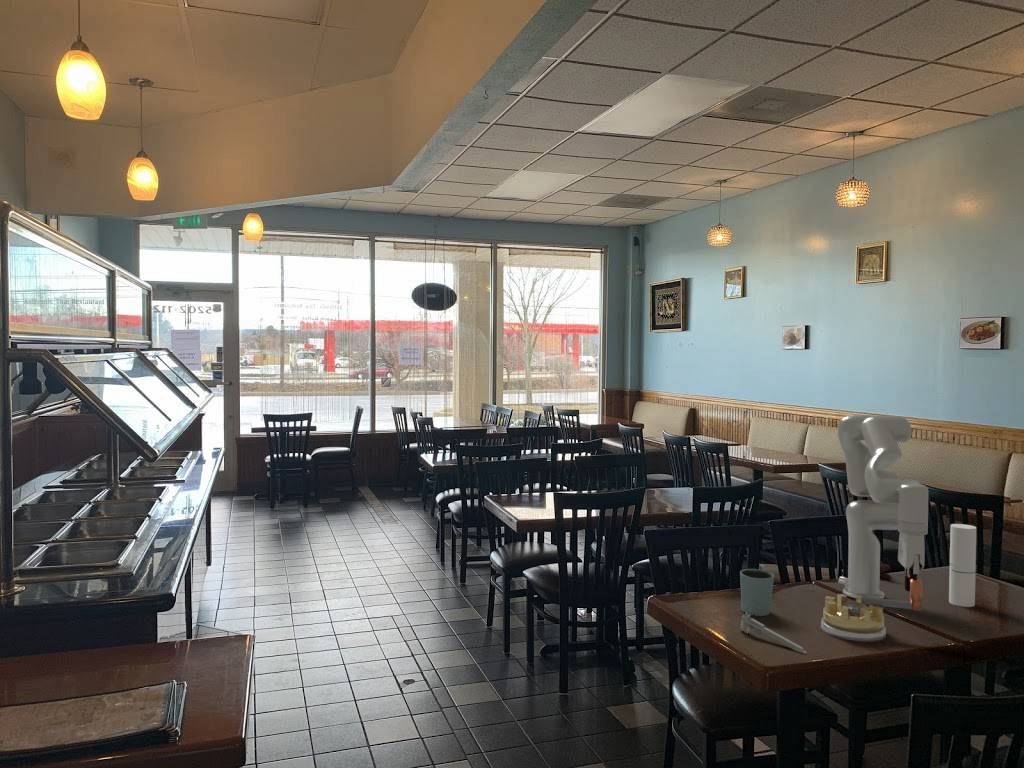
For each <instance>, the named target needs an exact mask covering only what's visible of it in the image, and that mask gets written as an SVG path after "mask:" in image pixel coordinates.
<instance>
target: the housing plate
mask: <svg viewBox="0 0 1024 768" xmlns="http://www.w3.org/2000/svg"><path fill="white" fill-rule="evenodd" d="M820 620H821V621H820V628H821V630H822V631H823V632H825V633H826V634H828V635H830V636H833V637H836V638H839V639H842V640H848V641H851V642H852V641H853V642H861V643H862V642H864V643H866V642H867V643H872V642H873V643H874V642H879V641H883V640H884V639H886V636H887V628H886V626H885V625H884V629H883V630H882V631H879V632H874V633H858V632H850V631H845V630H841V629H837V628H834V627H832V626H830V625H828V624H826V623H825V622H824V621H823V617H821V619H820Z"/></svg>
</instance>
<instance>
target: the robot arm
mask: <svg viewBox="0 0 1024 768" xmlns="http://www.w3.org/2000/svg"><path fill="white" fill-rule="evenodd" d="M837 436H838V441H839V443H840V447H841V449H842V451H843V454H844V458H845V468H846V469H845V470H846V477H847V485H848V486H847V487H848V490H849V492H850V494H852V495H853V496H856V497H865V498H867V497H870V498H871V499H872V500H870V499H869V500H867V499H866V500H865V499H861V500H860V499H859V500H854V501H851V502H850V503H848V504H847V506H846V508H845V516H846V520H847V521H846V522H847V530H848V557H847V558H848V561H847V562H848V565H847V568H848V569H847V576H848V577H846V576H842V575H841V576H839V578H838V580H837V583H838V584H841V585H844V587H843V588H842V594H844V595H846V596H847V597H850V598H853V599H856V597H858V596H863V597H870V598H880V599H885V593H884V592H883V591H882V590H880V576H881V575H880V561H881V542H880V541H879V539H878V537H877V536H876V535H875V534H874V532H873V531H877V530H880V531H884V530H885V531H898V532H899V537H898V549H897V550H898V551H897V561H898V562H899V564H900V565H901V566H902V567H904V575H905V576H904V589H905V591H906V592H910V579H911V578H917V579H920V577H919V575H920V570H923V569H924V568H925V557H926V556H925V553H926V552H925V551H926V550H925V536H926V535H928V534H929V533H928V529H929V525H928V524H929V488H928V486H926V485H924V484H922V483H920V482H919V481H917V480H915V479H912V478H911V479H908V478H907V479H906V478H903V479H902V478H900V477H899V476H898V473H897V472H896V471H894V470H893V469H891V468H888V467H891V466H893V465H894V464H897V462H898V461H899V460H901V457H902V450H901V448H900V446H899V443H907V442H909V441H910V439H911V437H912V426H911V424H910V422H909V421H908V420H907V418H905V417H904V416H901V415H896V416H895V415H886V414H885V415H883V414H881V415H877V414H876V415H870V414H868V415H867V414H866V415H865V414H852V415H846V416H843V417H842V418H841V419H840V420H839V422H838V426H837ZM862 441H865V442H864V443H865V444H864V443H863V442H862Z"/></svg>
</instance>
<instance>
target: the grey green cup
mask: <svg viewBox="0 0 1024 768" xmlns="http://www.w3.org/2000/svg"><path fill="white" fill-rule="evenodd" d="M739 578H740V581H739V582H740V596H741V599H740V609H741V612H742V611H743V612H742V613H744V612H748V615H749V614H751V616H753V615H755V617H764V616H769V615H770V614H771V609H772V608H771V607H772V597H773V594H772V592H773V588H774V583H775V582H774V580H775V574H774V573H772V572H770V571H768V570H764V569H757V568H745V569H742V570H740V571H739Z"/></svg>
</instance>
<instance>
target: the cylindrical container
mask: <svg viewBox="0 0 1024 768" xmlns="http://www.w3.org/2000/svg"><path fill="white" fill-rule="evenodd" d="M949 528H950V529H949V530H950V534H949V538H950V539H949V541H950V543H949V546H950V547H949V574H948V575H949V579H948V580H949V583H948V587H949V588H948V602H949V603H950V605H954V606H957V607H963V608H972V607H975V605H976V603H975V602H976V570H977V569H976V561H977V527H976V526H975V525H970V524H963V523H951V524H950V527H949Z"/></svg>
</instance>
